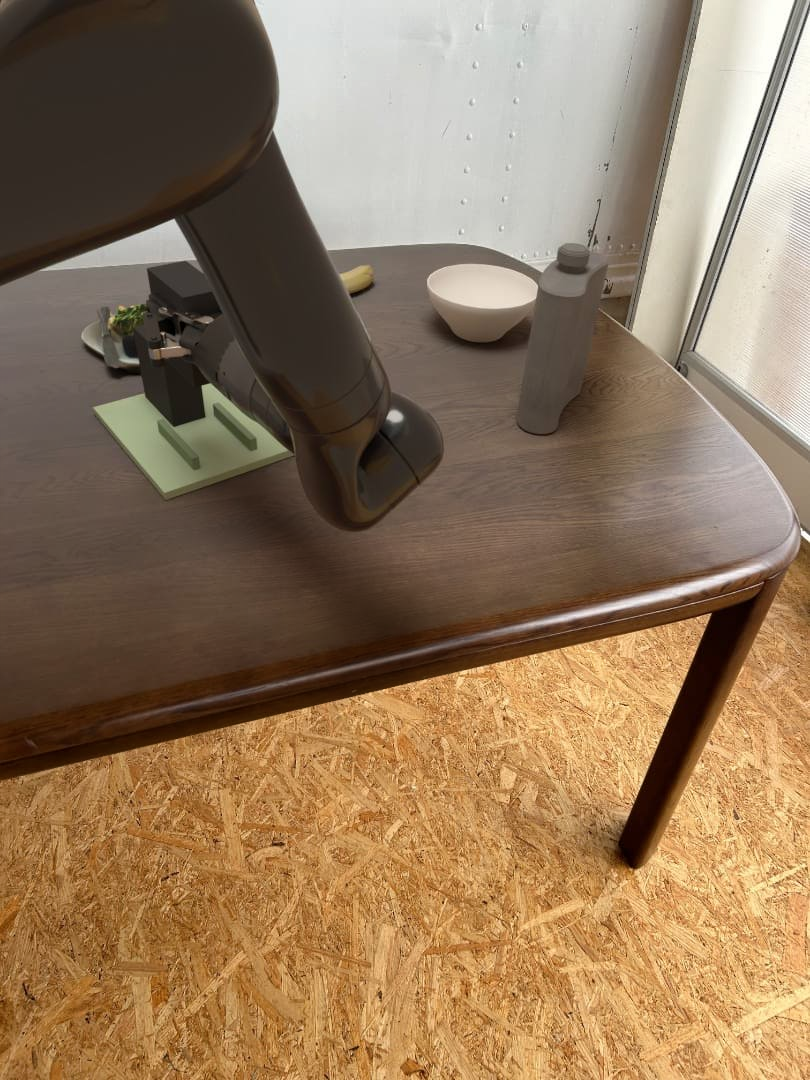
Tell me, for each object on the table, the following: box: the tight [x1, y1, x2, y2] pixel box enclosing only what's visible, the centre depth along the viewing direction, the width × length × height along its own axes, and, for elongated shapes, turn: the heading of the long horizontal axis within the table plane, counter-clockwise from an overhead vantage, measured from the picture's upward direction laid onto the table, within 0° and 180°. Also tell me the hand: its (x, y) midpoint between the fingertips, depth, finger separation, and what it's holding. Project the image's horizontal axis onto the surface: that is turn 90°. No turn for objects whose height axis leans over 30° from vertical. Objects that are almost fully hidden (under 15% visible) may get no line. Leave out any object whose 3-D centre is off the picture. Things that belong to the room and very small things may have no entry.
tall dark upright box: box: [146, 260, 221, 388], centre depth 76 cm, size 4×8×9 cm, turn 37°
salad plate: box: [81, 302, 148, 374], centre depth 106 cm, size 19×18×5 cm
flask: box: [516, 242, 610, 435], centre depth 93 cm, size 15×6×20 cm, turn 154°
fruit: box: [339, 264, 375, 295], centre depth 122 cm, size 7×15×3 cm, turn 113°
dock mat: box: [92, 325, 295, 501], centre depth 87 cm, size 16×20×10 cm
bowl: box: [426, 263, 538, 343], centre depth 113 cm, size 16×16×7 cm
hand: (175, 298), depth 77 cm, fingers closed on tall dark upright box, 4 cm apart
